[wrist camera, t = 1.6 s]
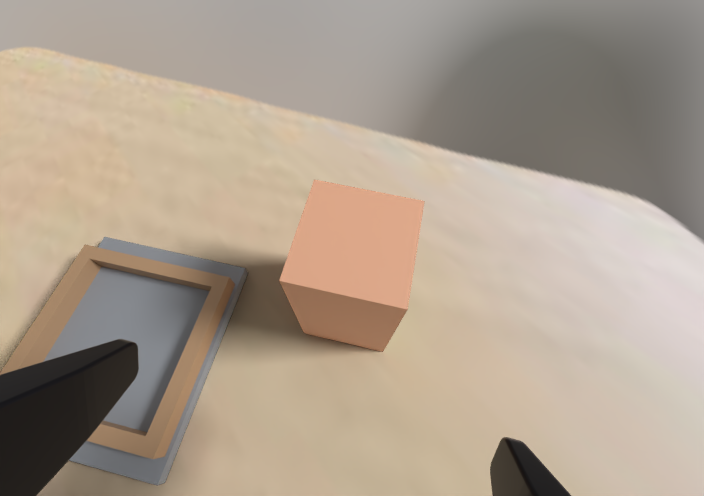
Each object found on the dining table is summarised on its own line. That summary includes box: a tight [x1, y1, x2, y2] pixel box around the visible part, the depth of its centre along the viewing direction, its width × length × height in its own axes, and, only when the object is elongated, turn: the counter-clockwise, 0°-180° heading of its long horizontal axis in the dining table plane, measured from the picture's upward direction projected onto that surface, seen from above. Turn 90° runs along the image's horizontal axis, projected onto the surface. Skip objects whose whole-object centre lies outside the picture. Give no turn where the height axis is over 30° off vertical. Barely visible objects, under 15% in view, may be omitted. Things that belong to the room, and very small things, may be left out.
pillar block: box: [279, 180, 424, 352], centre depth 18 cm, size 5×5×9 cm
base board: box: [0, 237, 248, 485], centre depth 20 cm, size 12×10×2 cm
